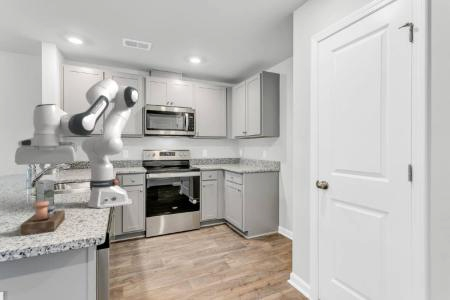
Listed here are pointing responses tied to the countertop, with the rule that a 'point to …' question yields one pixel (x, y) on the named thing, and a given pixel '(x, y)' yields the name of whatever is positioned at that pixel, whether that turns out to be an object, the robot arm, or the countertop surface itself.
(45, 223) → the wooden frame holder
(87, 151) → the robot arm
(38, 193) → the syrup box
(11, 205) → the countertop surface
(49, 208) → the grey plug
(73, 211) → the countertop surface
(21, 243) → the countertop surface
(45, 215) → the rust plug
